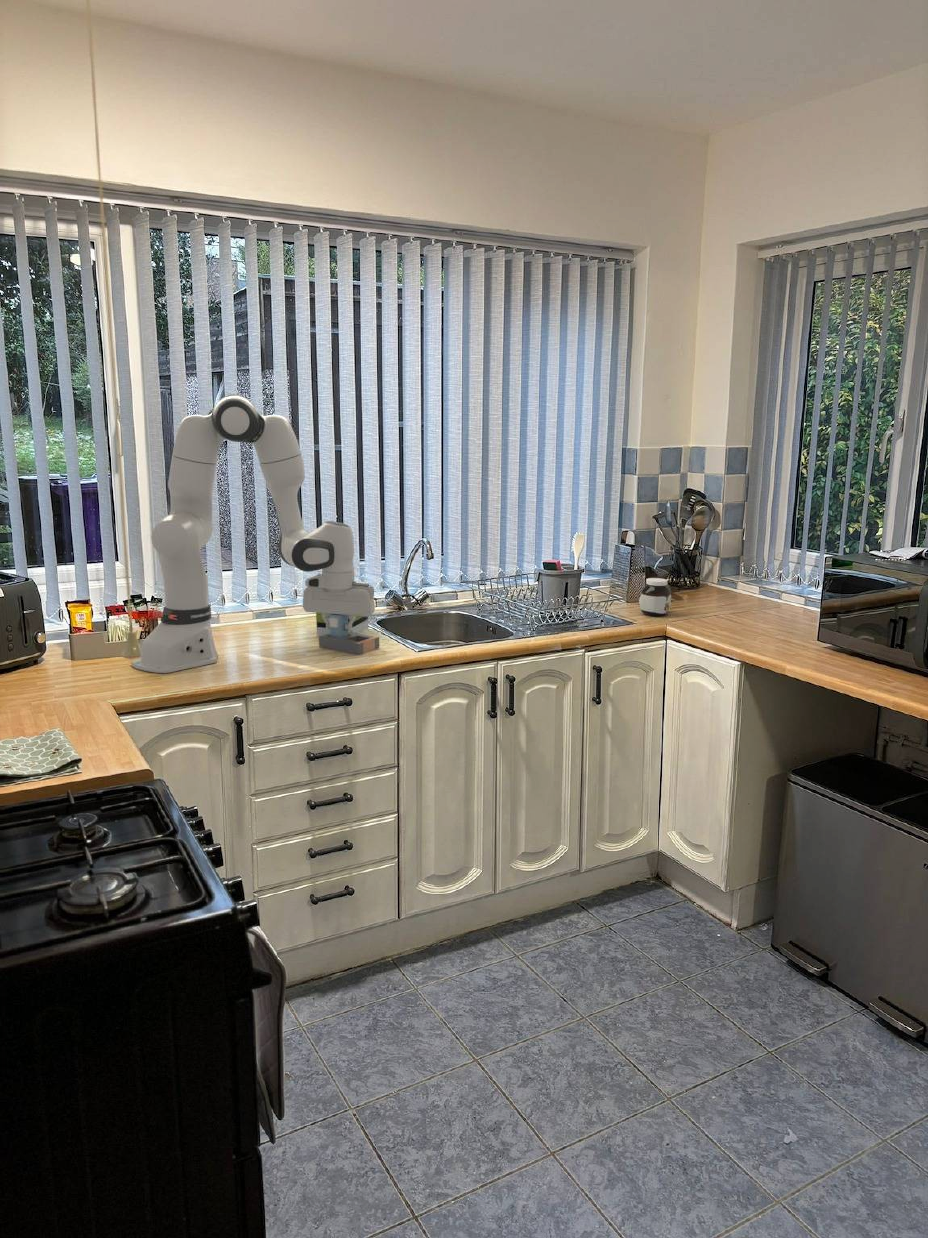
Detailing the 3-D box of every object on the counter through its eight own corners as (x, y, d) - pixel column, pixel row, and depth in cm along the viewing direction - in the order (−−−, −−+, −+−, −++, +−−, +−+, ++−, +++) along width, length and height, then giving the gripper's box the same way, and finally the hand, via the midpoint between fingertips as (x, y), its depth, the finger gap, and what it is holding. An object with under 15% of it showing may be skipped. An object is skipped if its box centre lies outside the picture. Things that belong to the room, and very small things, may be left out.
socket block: (358, 658, 251) (358, 643, 250) (319, 650, 258) (318, 635, 257) (379, 651, 258) (379, 636, 258) (340, 643, 266) (339, 629, 265)
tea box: (339, 627, 284) (338, 580, 281) (369, 631, 281) (368, 582, 278) (315, 639, 271) (314, 589, 267) (346, 642, 267) (346, 592, 264)
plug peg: (338, 648, 257) (337, 616, 255) (328, 646, 259) (328, 614, 257) (348, 645, 261) (347, 613, 258) (338, 643, 262) (338, 612, 260)
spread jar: (655, 618, 303) (657, 583, 300) (627, 612, 311) (629, 578, 308) (676, 613, 311) (679, 579, 308) (649, 607, 319) (651, 574, 316)
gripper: (378, 580, 256) (378, 629, 259) (309, 576, 261) (310, 624, 264) (369, 585, 250) (370, 635, 253) (299, 580, 255) (300, 629, 258)
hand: (339, 629), depth 259 cm, fingers closed on plug peg, 4 cm apart
